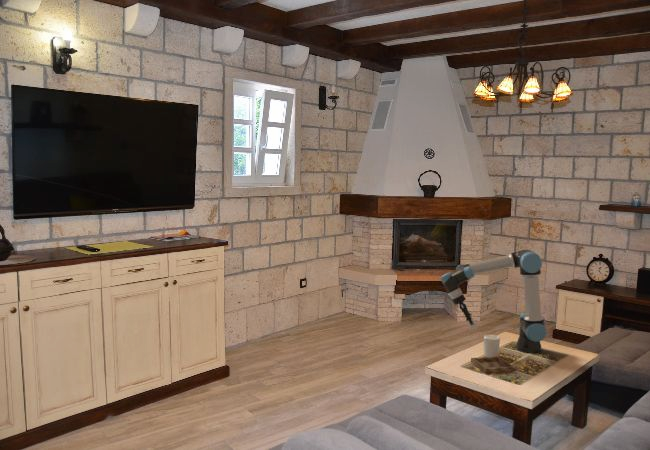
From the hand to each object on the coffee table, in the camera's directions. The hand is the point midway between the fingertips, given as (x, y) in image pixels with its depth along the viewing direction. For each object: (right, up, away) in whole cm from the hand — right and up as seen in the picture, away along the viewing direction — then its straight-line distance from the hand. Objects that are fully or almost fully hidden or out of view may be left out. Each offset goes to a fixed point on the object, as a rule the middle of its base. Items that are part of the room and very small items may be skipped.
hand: (474, 327), depth 320 cm
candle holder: (+10, -18, +1) cm, 20 cm away
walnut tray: (+5, -19, -18) cm, 26 cm away
